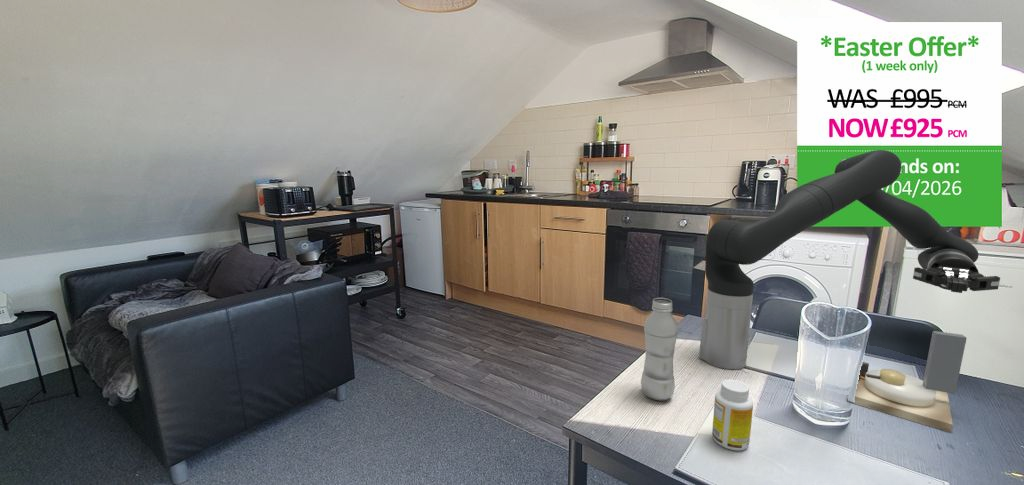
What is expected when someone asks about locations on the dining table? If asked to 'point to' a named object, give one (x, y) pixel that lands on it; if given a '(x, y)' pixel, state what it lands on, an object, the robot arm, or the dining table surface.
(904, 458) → the dining table surface
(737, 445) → the supplement bottle
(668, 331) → the plastic bottle
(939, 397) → the level stand
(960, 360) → the dial
